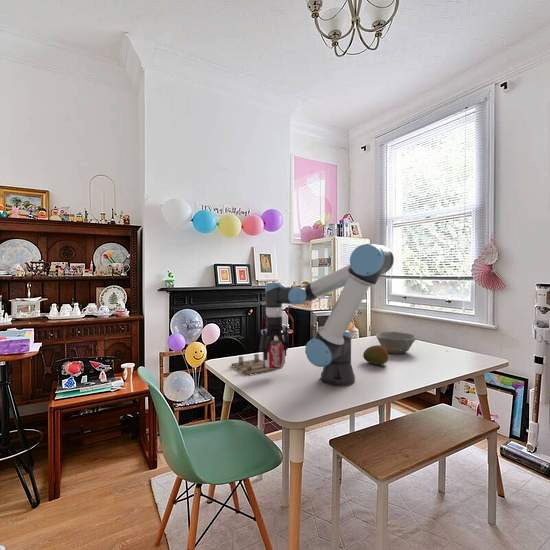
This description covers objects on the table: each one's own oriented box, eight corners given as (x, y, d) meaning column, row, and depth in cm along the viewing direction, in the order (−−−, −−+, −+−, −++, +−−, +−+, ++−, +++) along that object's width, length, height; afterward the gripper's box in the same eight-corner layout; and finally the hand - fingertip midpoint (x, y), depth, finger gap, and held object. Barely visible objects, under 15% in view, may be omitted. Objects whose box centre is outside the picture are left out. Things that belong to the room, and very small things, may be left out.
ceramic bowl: (367, 349, 201) (367, 333, 200) (396, 345, 210) (396, 330, 210) (395, 359, 181) (395, 341, 180) (424, 354, 190) (425, 337, 190)
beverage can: (287, 367, 153) (286, 341, 152) (276, 371, 147) (275, 344, 146) (274, 364, 158) (274, 339, 158) (263, 368, 152) (262, 342, 152)
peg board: (276, 370, 163) (275, 359, 163) (247, 375, 154) (247, 364, 154) (258, 361, 178) (258, 351, 178) (231, 366, 169) (231, 356, 169)
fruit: (388, 368, 164) (388, 349, 164) (362, 366, 168) (362, 347, 168) (388, 362, 175) (388, 343, 175) (363, 360, 179) (364, 342, 179)
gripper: (288, 313, 161) (289, 359, 161) (250, 317, 150) (251, 366, 150) (297, 314, 154) (298, 362, 155) (258, 319, 143) (259, 371, 144)
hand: (275, 364), depth 152 cm, fingers closed on beverage can, 8 cm apart
